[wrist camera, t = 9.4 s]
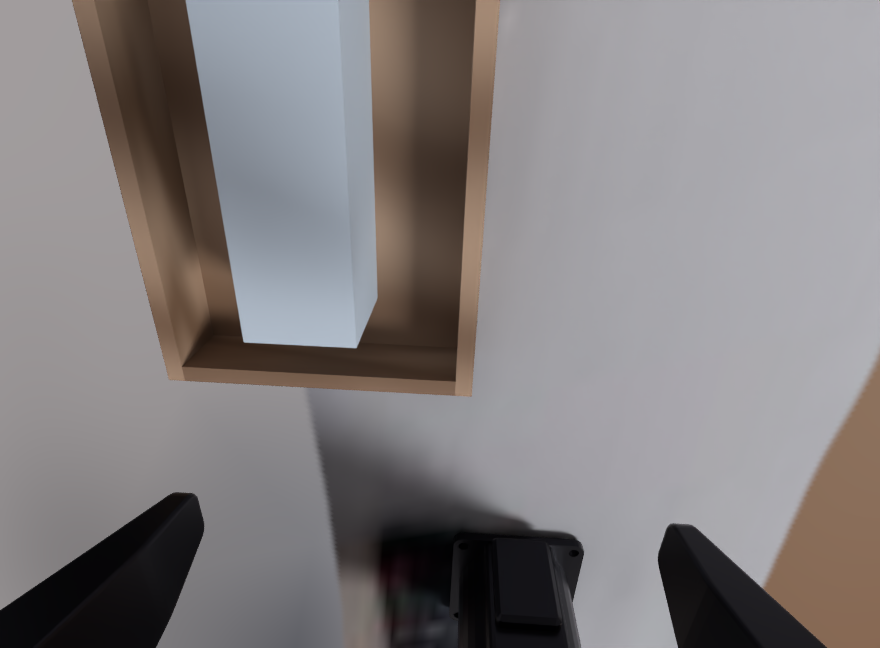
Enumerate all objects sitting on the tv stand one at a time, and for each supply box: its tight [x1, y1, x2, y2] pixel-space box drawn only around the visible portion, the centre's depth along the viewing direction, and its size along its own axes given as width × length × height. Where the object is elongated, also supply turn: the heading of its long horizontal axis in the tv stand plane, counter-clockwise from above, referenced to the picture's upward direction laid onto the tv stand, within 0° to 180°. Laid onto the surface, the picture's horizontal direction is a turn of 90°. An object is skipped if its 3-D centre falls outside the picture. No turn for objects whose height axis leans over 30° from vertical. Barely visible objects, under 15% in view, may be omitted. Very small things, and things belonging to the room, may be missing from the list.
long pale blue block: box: [186, 0, 378, 348], centre depth 14 cm, size 13×4×4 cm, turn 178°
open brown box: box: [72, 0, 500, 397], centre depth 15 cm, size 17×11×3 cm, turn 178°
